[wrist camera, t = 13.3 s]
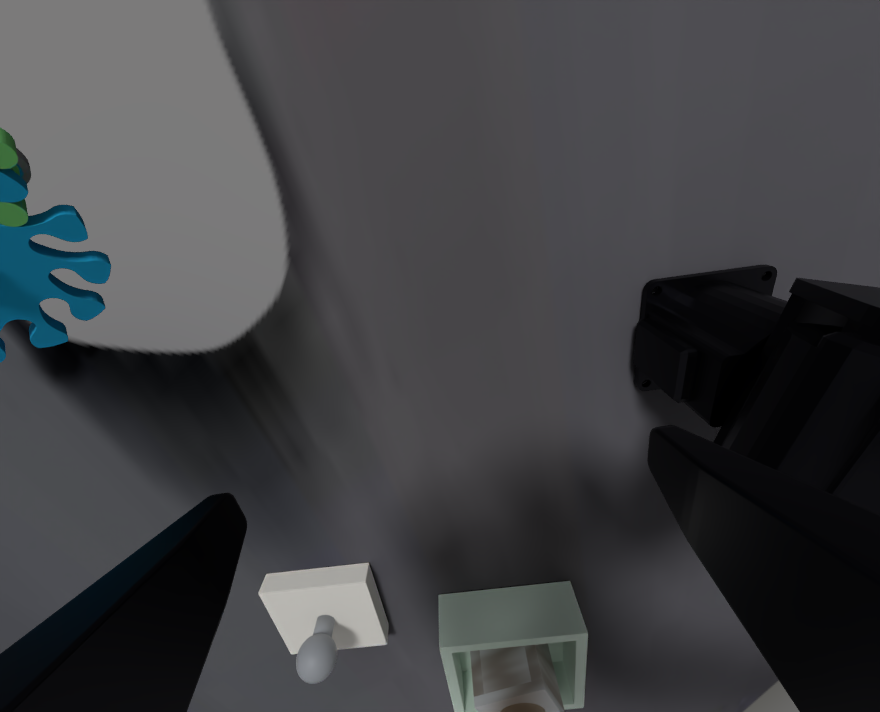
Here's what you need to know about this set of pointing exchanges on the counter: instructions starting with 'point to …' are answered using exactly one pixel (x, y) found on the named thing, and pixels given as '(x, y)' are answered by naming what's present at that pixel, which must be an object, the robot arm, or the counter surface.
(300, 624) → the stud plate
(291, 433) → the counter surface
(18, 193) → the blue lobed toy
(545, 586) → the tray
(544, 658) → the stamp
